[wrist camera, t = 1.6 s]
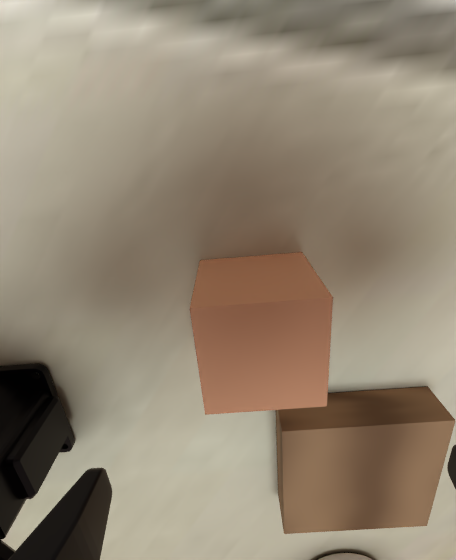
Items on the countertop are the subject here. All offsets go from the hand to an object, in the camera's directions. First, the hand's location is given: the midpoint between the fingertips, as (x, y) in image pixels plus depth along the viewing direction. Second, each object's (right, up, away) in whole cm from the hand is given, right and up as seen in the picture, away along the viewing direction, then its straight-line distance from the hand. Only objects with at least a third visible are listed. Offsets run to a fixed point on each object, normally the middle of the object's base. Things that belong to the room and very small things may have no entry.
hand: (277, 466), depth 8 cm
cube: (0, +4, +8) cm, 9 cm away
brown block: (+6, -6, +13) cm, 15 cm away
